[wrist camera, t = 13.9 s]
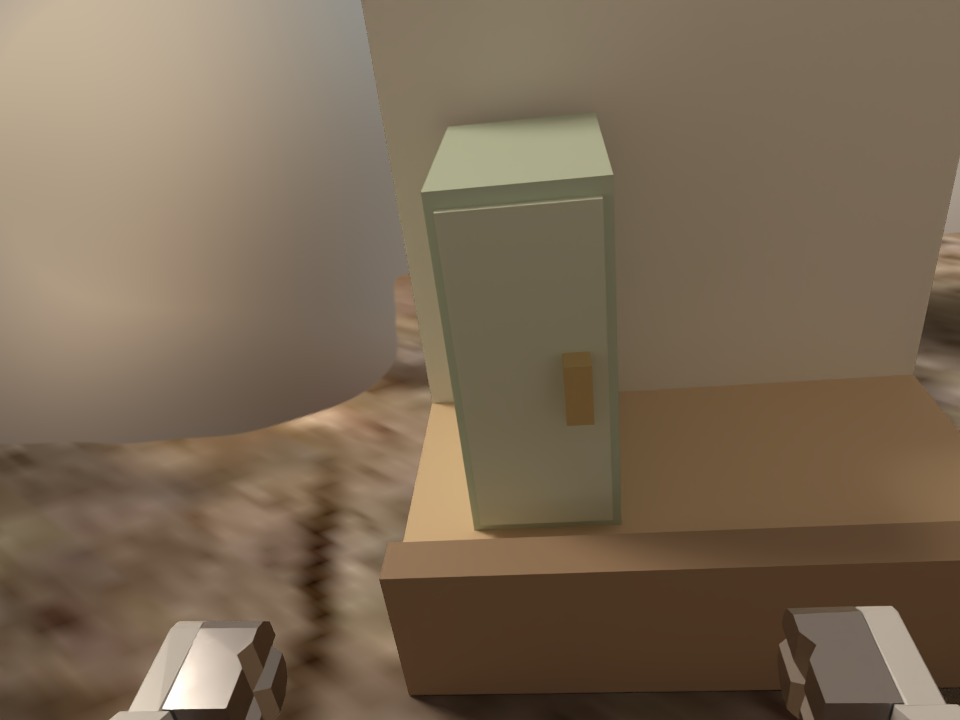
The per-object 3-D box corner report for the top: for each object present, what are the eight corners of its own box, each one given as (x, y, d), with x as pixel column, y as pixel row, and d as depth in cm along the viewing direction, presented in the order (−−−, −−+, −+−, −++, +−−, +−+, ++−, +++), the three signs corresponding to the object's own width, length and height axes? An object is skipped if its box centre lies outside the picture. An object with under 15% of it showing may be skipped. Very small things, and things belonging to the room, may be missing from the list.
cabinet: (471, 553, 25) (415, 206, 19) (486, 413, 32) (447, 126, 26) (624, 548, 24) (617, 188, 18) (605, 406, 31) (594, 111, 25)
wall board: (409, 695, 25) (217, -50, 14) (449, 447, 36) (362, -67, 25) (1053, 685, 23) (1443, -213, 12) (878, 424, 34) (989, -151, 23)
